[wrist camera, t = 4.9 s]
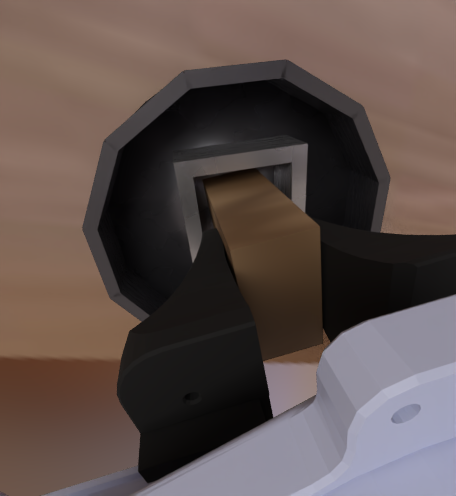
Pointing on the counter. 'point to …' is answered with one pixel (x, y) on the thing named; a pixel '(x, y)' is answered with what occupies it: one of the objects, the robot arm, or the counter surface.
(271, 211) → the wooden block
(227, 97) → the bowl
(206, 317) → the robot arm
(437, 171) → the counter surface
